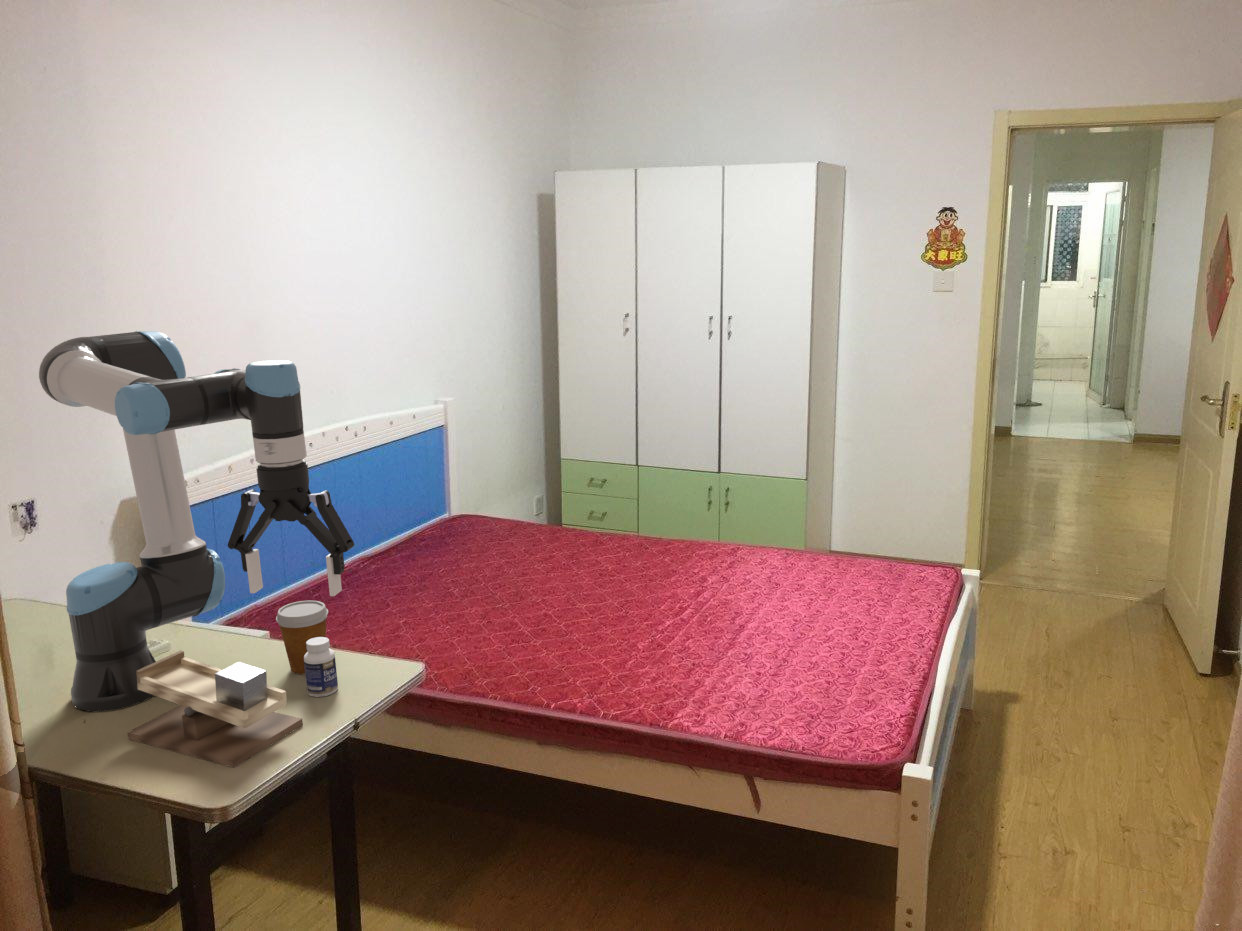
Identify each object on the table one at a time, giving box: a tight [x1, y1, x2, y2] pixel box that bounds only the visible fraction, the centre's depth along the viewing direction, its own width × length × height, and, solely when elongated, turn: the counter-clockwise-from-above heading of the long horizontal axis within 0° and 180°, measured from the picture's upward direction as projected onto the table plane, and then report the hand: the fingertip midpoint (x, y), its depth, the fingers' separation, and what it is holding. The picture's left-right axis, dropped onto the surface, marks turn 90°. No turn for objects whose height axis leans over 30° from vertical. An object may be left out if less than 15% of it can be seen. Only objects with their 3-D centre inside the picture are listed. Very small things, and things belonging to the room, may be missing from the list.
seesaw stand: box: [127, 705, 304, 768], centre depth 169 cm, size 24×15×5 cm, turn 64°
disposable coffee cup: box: [275, 600, 329, 675], centre depth 192 cm, size 10×10×12 cm
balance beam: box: [136, 650, 287, 728], centre depth 167 cm, size 24×10×4 cm, turn 64°
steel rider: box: [215, 661, 268, 711], centre depth 164 cm, size 6×5×5 cm
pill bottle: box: [304, 636, 339, 698], centre depth 182 cm, size 5×5×10 cm
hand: (296, 592), depth 161 cm, fingers open, 13 cm apart
